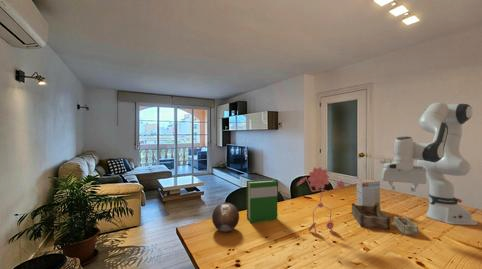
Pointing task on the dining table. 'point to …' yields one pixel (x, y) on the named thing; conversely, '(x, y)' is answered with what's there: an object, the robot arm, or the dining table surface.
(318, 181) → the figurine
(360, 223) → the walnut crate
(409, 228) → the birch crate
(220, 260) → the dining table surface
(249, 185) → the hardback book
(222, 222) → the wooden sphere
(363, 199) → the cracker box
